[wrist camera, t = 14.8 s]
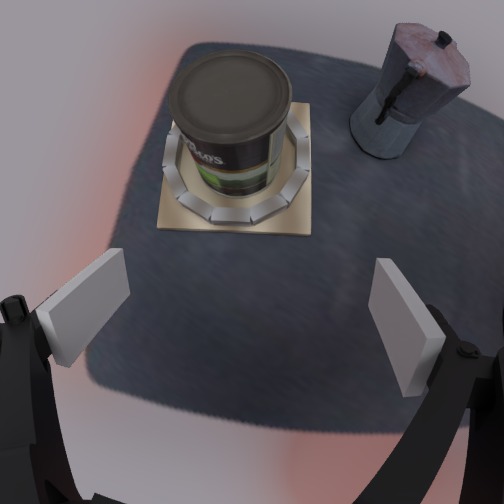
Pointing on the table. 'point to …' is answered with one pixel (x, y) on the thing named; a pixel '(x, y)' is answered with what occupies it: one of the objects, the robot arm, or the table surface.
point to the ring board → (243, 209)
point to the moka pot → (409, 89)
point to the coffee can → (233, 119)
